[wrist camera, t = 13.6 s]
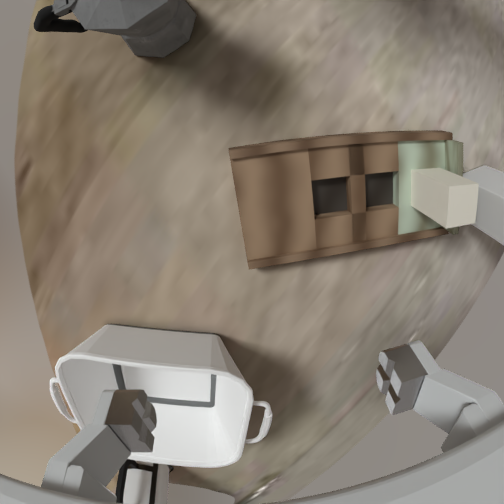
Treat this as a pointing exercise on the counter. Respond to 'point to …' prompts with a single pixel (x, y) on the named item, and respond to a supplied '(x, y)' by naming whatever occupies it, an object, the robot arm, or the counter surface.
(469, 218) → the cream block
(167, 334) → the tub
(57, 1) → the coffeepot
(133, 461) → the coffee press
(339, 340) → the counter surface
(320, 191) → the box
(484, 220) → the milk carton
